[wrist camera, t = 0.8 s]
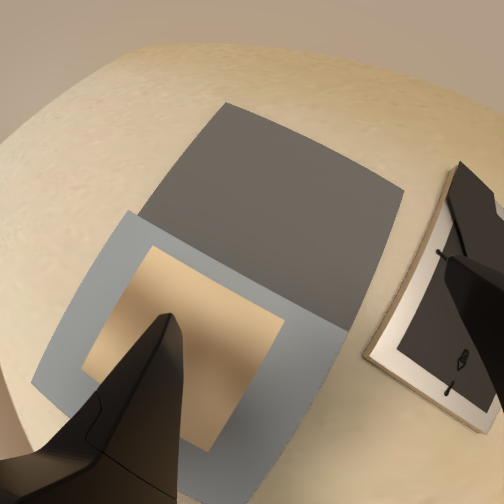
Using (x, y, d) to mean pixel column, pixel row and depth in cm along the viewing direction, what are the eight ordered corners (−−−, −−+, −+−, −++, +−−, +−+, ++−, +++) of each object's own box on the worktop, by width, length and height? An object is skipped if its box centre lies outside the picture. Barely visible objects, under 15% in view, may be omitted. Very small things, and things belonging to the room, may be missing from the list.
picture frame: (446, 174, 27) (358, 356, 22) (460, 161, 25) (372, 356, 19) (533, 259, 25) (473, 431, 20) (549, 252, 23) (492, 436, 17)
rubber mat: (341, 340, 22) (344, 340, 21) (134, 225, 24) (132, 222, 23) (401, 193, 25) (404, 190, 25) (226, 106, 27) (225, 102, 27)
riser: (236, 492, 18) (235, 517, 14) (58, 379, 20) (30, 382, 16) (330, 335, 22) (348, 332, 18) (144, 231, 24) (128, 209, 20)
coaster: (211, 438, 16) (207, 452, 13) (99, 367, 17) (80, 368, 14) (279, 324, 18) (284, 320, 16) (163, 257, 19) (152, 245, 16)
